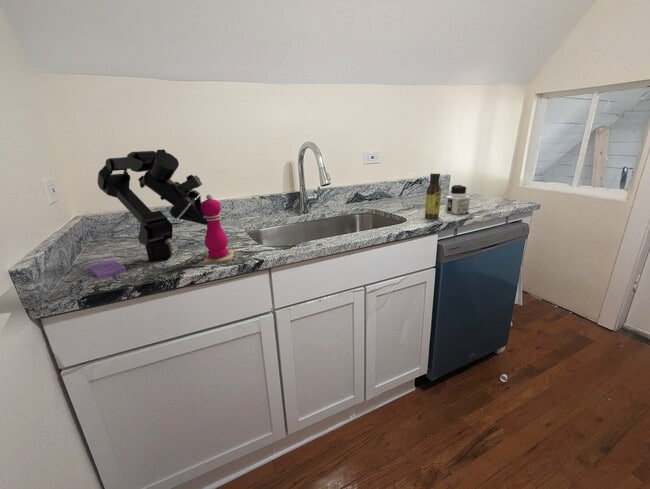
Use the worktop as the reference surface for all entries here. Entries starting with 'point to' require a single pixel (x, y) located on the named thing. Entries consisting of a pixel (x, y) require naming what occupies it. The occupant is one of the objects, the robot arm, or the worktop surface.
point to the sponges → (106, 268)
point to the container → (457, 200)
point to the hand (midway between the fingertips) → (209, 220)
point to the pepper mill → (214, 229)
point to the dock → (222, 259)
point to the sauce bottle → (433, 197)
